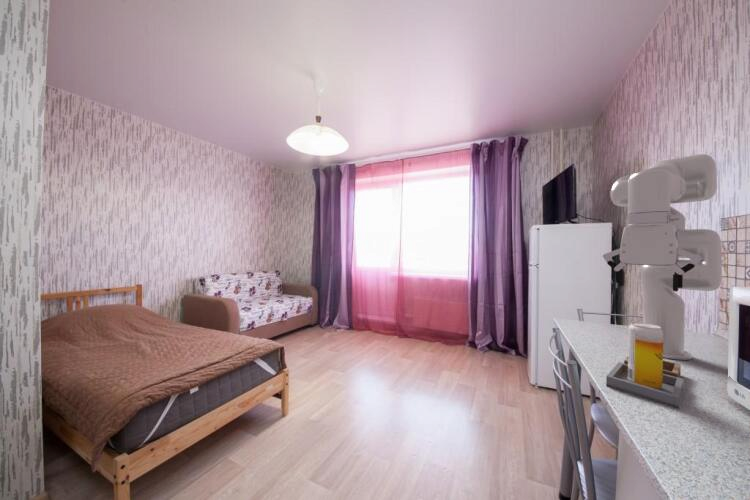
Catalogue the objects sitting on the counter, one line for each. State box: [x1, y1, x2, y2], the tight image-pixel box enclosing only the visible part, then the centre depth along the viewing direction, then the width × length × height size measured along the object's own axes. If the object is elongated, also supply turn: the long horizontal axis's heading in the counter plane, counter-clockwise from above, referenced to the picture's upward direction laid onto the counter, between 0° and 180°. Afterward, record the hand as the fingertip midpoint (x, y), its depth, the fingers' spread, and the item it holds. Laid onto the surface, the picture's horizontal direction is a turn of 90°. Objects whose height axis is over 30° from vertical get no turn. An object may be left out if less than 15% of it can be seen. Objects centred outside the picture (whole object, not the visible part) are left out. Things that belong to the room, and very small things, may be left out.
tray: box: [605, 361, 684, 410], centre depth 66 cm, size 14×12×2 cm
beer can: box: [627, 321, 664, 390], centre depth 66 cm, size 6×6×15 cm
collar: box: [623, 356, 682, 378], centre depth 74 cm, size 10×10×3 cm
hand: (647, 288), depth 67 cm, fingers open, 9 cm apart
